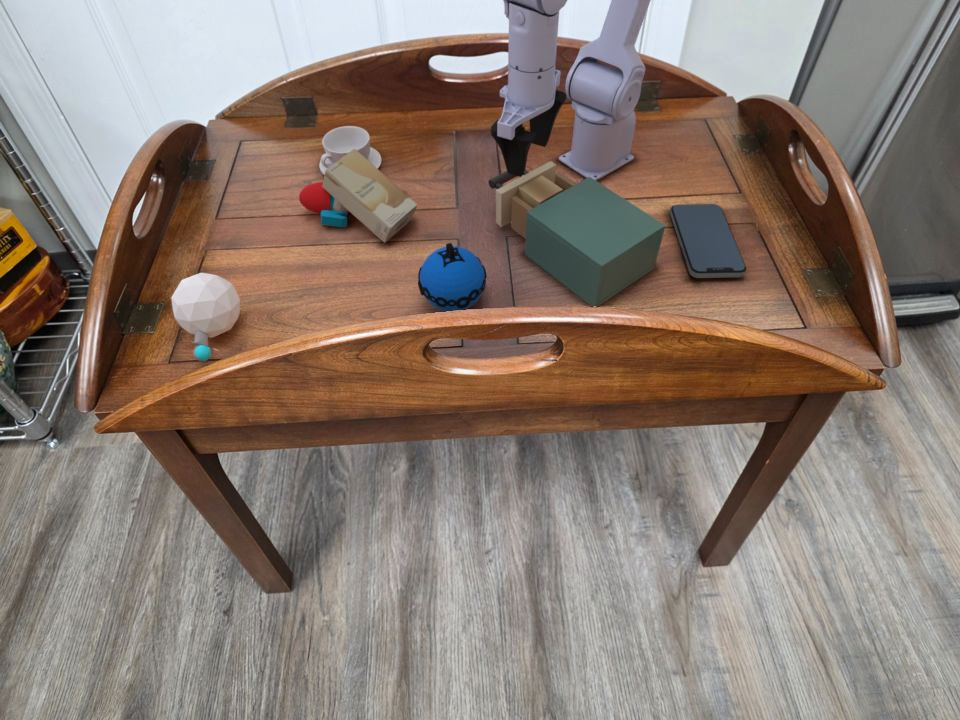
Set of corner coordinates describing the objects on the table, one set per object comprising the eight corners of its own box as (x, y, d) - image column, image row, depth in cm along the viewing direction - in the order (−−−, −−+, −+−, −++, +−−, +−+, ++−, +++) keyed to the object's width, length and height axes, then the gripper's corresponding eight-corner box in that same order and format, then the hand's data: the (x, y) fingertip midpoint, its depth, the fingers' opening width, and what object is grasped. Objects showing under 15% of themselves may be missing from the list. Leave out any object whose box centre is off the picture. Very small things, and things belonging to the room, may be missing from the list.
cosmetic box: (391, 228, 89) (323, 170, 89) (385, 244, 93) (319, 188, 92) (419, 202, 92) (354, 146, 92) (412, 219, 96) (349, 164, 96)
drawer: (477, 208, 96) (476, 175, 91) (529, 180, 100) (530, 147, 95) (555, 268, 88) (558, 235, 83) (608, 235, 92) (614, 202, 87)
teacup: (355, 139, 109) (350, 114, 106) (394, 163, 105) (390, 137, 101) (307, 166, 105) (300, 140, 101) (345, 191, 100) (340, 166, 97)
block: (539, 200, 95) (541, 174, 92) (560, 214, 93) (563, 189, 90) (517, 212, 93) (518, 187, 90) (538, 227, 91) (539, 202, 88)
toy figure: (400, 198, 102) (301, 193, 99) (402, 173, 98) (299, 167, 95) (401, 233, 97) (298, 228, 95) (403, 208, 93) (296, 203, 91)
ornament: (496, 315, 84) (496, 258, 76) (433, 334, 82) (426, 277, 74) (473, 272, 89) (471, 214, 81) (413, 289, 87) (405, 231, 79)
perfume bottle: (254, 276, 84) (254, 354, 78) (214, 306, 87) (211, 382, 81) (199, 249, 78) (195, 330, 72) (160, 282, 82) (152, 362, 75)
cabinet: (524, 254, 91) (526, 211, 85) (583, 219, 95) (589, 176, 89) (594, 309, 84) (601, 266, 78) (654, 268, 89) (665, 225, 83)
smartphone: (720, 202, 95) (749, 270, 85) (717, 211, 96) (745, 280, 87) (669, 203, 95) (692, 272, 85) (666, 212, 96) (689, 281, 87)
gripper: (527, 28, 83) (524, 124, 94) (474, 81, 75) (476, 179, 86) (578, 40, 81) (569, 137, 92) (528, 95, 73) (524, 194, 84)
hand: (527, 158), depth 89 cm, fingers open, 7 cm apart
